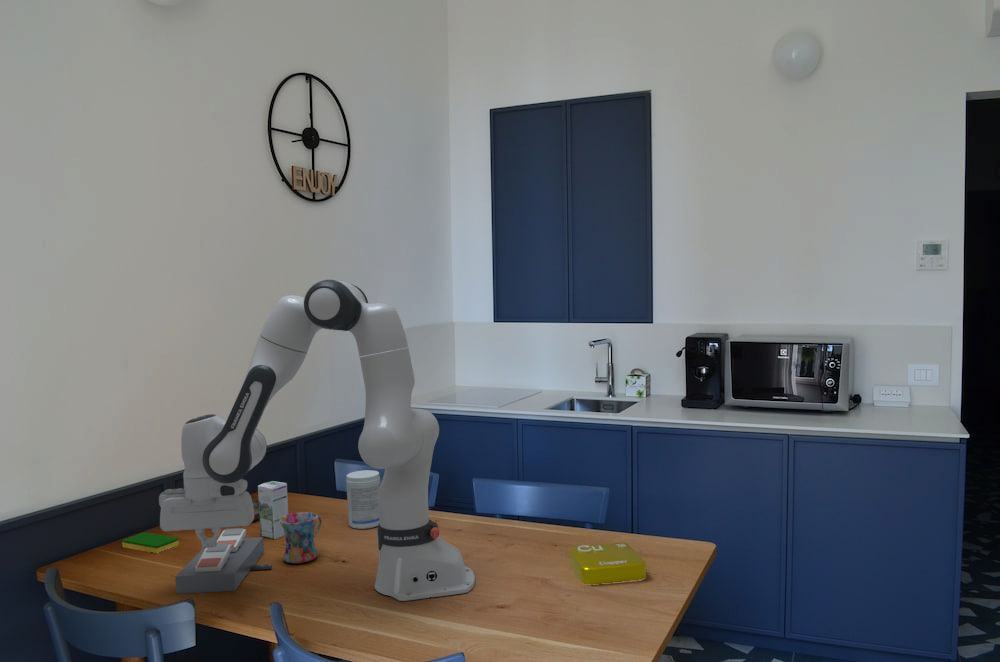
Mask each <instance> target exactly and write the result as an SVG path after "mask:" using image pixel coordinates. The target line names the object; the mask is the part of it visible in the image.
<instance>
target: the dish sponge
mask: <svg viewBox="0 0 1000 662" xmlns="http://www.w3.org/2000/svg"><path fill="white" fill-rule="evenodd" d="M121 541H122V542H121V544H122V548H124V549H129V550H135V551H140V552H145V551H146V553H150V552H153V553H152V554H155V553H157V554H160V553H159V552H161V551H163V552H165V551H164V550H166V551H168V550H170V548H171V549H173V548H172V547H174V548H176V547H179V546H180V544H179V543H180V542H179V537H174V536H169V535H163V534H157V533H151V532H145V531H144V532H140V533H138V534H136V535H135V534H134V535H132V536H130V537H126V538H124V539H122V540H121ZM178 545H179V546H178ZM175 546H176V547H175ZM167 549H168V550H167ZM161 553H162V552H161Z"/></svg>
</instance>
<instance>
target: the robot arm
mask: <svg viewBox="0 0 1000 662" xmlns="http://www.w3.org/2000/svg"><path fill="white" fill-rule="evenodd" d="M368 301H369V300H368V298H367V295H366V294H365V292H364V291H363V290H362V289H361V288H360V287H358V286H357V285H354V284H352V283H349V282H347V281H343V280H339V279H324V280H321V281H318V282H316V283H314V284H313V285H312V286H311V287H309V289H308V290H307V292H306V293H305V295H304V297H303V296H300V295H296V294H295V295H294V294H292V295H291V294H290V295H284V296H282V297H280V299H278V300H277V302H276V304H275V305H274V306H273V308H272V309H271V312H270V313H269V315H268V317H267V319H266V321H265V323H264V324H263V327H262V329H261V331H260V333H259V336H258V338H257V342H256V344H255V346H254V350H253V354H252V357H251V359H250V363H249V365H248V369H247V372H246V374H245V378H244V380H243V383H242V386H241V387H240V390H239V393H238V394H237V397H236V399H235V402H234V403H233V405H232V408H231V410H230V413H229V415H228V417H227V419H226V420H225V419H223V418H221V416H219V415H218V414H213V413H211V414H206V415H205V414H204V415H201V416H197V417H195V418H192V419H190V420H188V421H186V422H185V423H184V424H183V425H182V429H181V443H180V445H181V446H180V447H181V459H182V461H183V467H184V469H183V474H182V477H183V487H182V488H173V489H172V488H167V489H165V490H164V491H162V492H161V493H160V494H159V496H158V504H159V506H160V513H159V527H160V529H161V530H162V531H163V532H177V531H187V530H188V531H191V530H192V531H193V530H195V531H194V532H195V535H196V537H197V538H198V539H199V541H201V543H200V544H201V549H203V548H210V547H216V546H217V539H218V538H219V536H220V534H221V533H220V532H221V531H222V528H234V527H235V528H237V527H249V525H250V524H252V521H253V520H254V508H253V503H252V500H253V499H252V496H251V494H250V493H249V492H248V491H247V489H248V481H247V480H246V479H244V477H245V476H246V475H247V474H248V472H249V471H251V470H252V469H253V468H254V467H255V466H257V465H258V464H259V463H260V462H261V461H262V460H263V459H264V457H265V456H266V455H267V448H268V447H267V446H268V444H267V440H266V437H265V435H263V433H262V432H261V431H259V430H258V429H257V428H258V426H259V424H260V421H261V419H262V417H263V415H264V412H265V410H266V408H267V406H268V405H269V403H270V401H271V400H272V399H273V398H274V397H275V395H276V394H277V393H278V392H279V391H281V390H282V388H284V387H285V386H286V385H287V384H288V383H290V382H291V381H292V380H293V379H294V377H295V376H296V375H297V373H298V372H299V370H300V368H301V367H302V365H303V363H304V361H305V358H307V357H306V356H307V354H308V351H309V349H310V346H311V344H312V341H313V339H314V337H315V335H316V334H317V333H318V332H319V331H320V330H322V329H325V330H332V331H342V332H350V333H351V334H352V335H353V337H354V340H355V342H356V346H357V351H358V357H359V362H360V367H361V372H362V379H363V383H364V389H365V390H364V391H365V411H364V422H363V428H362V432H361V433H360V435H359V438H358V443H357V445H358V446H357V448H358V452H359V455H360V457H361V459H362V461H363V462H364V463H365V464H366V465H367V466H368V467H370V468H372V469H375V470H384V474H383V477H382V480H381V481H380V486H379V490H378V502H379V524H378V526H377V531H376V532H377V533H376V535H377V536H376V537H377V547H378V551H379V554H378V568H377V574H376V577H375V583H374V589H375V591H377V592H378V593H380V594H383V595H384V596H390V597H392V598H394V599H396V601H398V602H399V601H400V602H407V601H414V600H423V599H429V598H430V597H431V598H438V597H445V596H452V595H454V596H455V595H459V594H467V593H469V592H470V591H471V590H472V589H473V588H474V587H475V583H476V580H475V578H476V577H475V573H474V571H473V569H472V568H470V567H468V566H466V565H465V562H464V558H463V556H462V553H461V551H460V550H459V549H458V548H457V547H456V546H455V545H452V544H451V543H449V542H448V541H446V540H445V539H443V538H442V537H440V534H441V531H440V528H439V525H438V522H437V520H434V521H433V520H431V519H430V518H429V517H430V515H429V514H430V513H429V481H430V473H431V467H432V463H433V462H432V461H433V454H434V450H435V445H436V443H437V440H438V439H439V438H438V437H439V435H440V434H439V433H440V425H439V422H438V419H437V418H436V417H435V415H434V414H433V413H431V412H430V411H428V410H426V409H423V408H414V407H413V408H412V394H413V389H414V386H415V379H416V378H415V374H414V369H413V363H412V360H411V354H410V350H409V349H410V348H409V344H408V340H407V336H406V333H405V328H404V326H403V322H402V321H401V318H400V315H399V313H398V310H397V309H396V308H395V307H394V306H393V305H392V304H389V303H384V302H373V303H369V302H368ZM253 522H254V521H253ZM207 529H211V533H213V536H212V537H207V536H206V535H205V533H204V532H205V530H207Z"/></svg>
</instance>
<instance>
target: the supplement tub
mask: <svg viewBox="0 0 1000 662" xmlns="http://www.w3.org/2000/svg"><path fill="white" fill-rule="evenodd" d="M345 481H346V483H345V484H346V499H347V501H346V502H347V503H346V504H347V515H348V525H349V527H350V528H353V529H359V530H364V529H365V530H368V529H372V528H375V527H378V524H379V502H378V490H379V486H380V484H381V477H380V472H379V471H377V470H369V469H368V470H367V469H366V470H365V469H364V470H357V471H352V472H349V473H347V474H346V480H345Z"/></svg>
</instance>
